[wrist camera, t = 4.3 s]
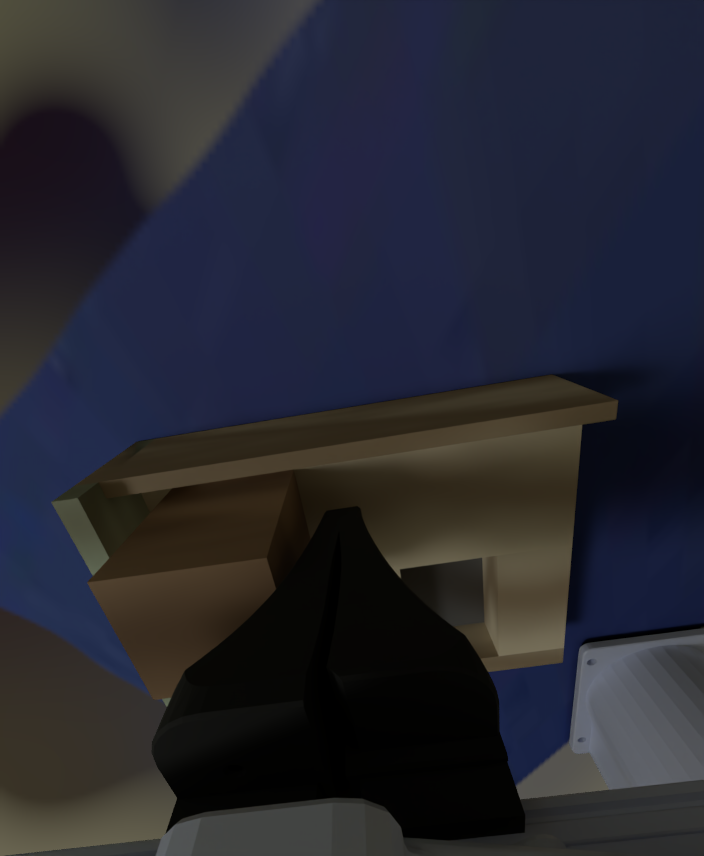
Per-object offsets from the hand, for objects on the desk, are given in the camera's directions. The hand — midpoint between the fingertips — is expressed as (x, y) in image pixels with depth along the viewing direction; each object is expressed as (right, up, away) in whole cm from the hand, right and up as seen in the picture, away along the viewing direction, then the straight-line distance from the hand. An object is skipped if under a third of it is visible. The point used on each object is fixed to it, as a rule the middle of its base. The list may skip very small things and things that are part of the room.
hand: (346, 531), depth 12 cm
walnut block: (-4, 0, +1) cm, 4 cm away
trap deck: (+1, -2, +4) cm, 5 cm away
